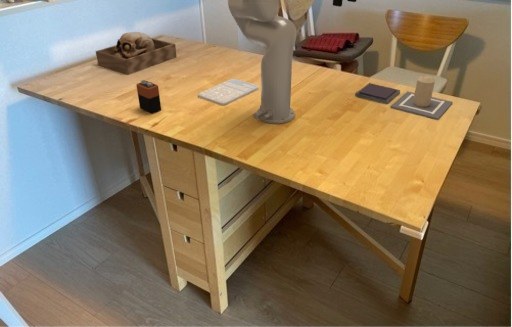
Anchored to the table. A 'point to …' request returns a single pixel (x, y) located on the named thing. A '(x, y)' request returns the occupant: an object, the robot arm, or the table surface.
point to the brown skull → (133, 45)
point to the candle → (423, 91)
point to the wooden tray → (136, 58)
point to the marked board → (431, 111)
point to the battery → (148, 96)
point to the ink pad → (377, 93)
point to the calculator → (228, 92)
